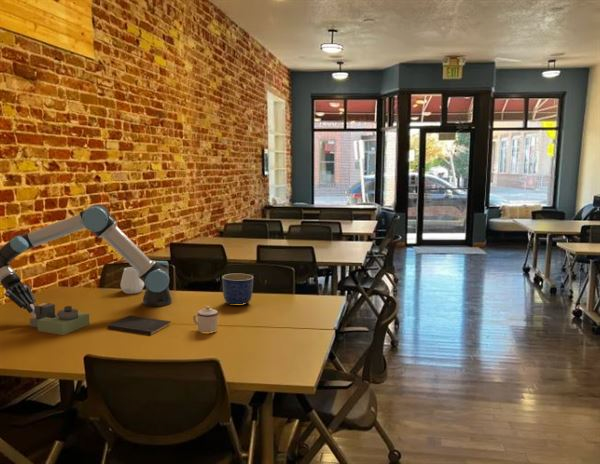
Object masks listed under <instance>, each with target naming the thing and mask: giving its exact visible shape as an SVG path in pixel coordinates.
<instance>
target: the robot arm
mask: <svg viewBox="0 0 600 464" xmlns="http://www.w3.org/2000/svg"><path fill="white" fill-rule="evenodd" d="M117 224H118V223H117V220H116V219H115V218H114V217H113V216H112V215H111V212H110V210H109V208H107V207H106V206H104V205H102V204H93V205H91V206H89V207H88V208H86V209H83V210H82V211H80V212H78V214H76V215H74V216H71V217H69V218H66V219H63V220H60V221H58V222H55V223H51V224H49V225H47V226H44V227H42V228H39V229H36V230H33V231H30V232H27V233H25V234H21V235H16V236H15V237H13V238H11V239H10V240H9V241H7V242H6V243H5V244H4V245H3V246H2V247H0V284H1V285H2V287H3V288H4V289H5V290H6V291H5V292H4V294H3V295H4V296H5V297H7V298H9V299H10V300H11V301H12V302H13V303H14V304H15V305H17V306H18V308H20V309H23V310H26V311H27V312H28V314H30V315H32V318H34V319H36V314H34V306H36V305H35V303H36V301H37V300H36V298H35V296H34V294H33V291H32V290H31V285H30V284H27V285H26V284H24V283H23V282H22V281H21V278H20V276H19V275H18V274H17V273H16V271H15V270H14V269H13V267H12V266H11V265H10V262H12V261H13V260H14V259H16V258H17V257H19V255H21V254H22V253H24V252H25V251H28V250H31V249H33V248H35V247H38V246H41V245H44V244H47V243H49V242H52V241H55V240H57V239H60V238H63V237H65V236H68V235H71V234H74V233H76V232H78V231H81V230H84V229H85V230H87V231H90V232H92V233H93V234H94V235H95V236H96V237H97V238H102V239H104V240H105V241H106V243H108V245H110V246H111V247H112V249H114V250H115V251H116V252H117V253H118V254H119V255H120V256H121V257H122V258H123V259H124V260H125V261H126V262H127V263H128V264H129V266H130V267H133V268H134V269H135V270H136V271H137V272H138V277H139V278H140V279H141V280H142V281H143V282H144V286H145V292H144V295H143V298H142V304H143V305H144V306H147V307H165V306H168V305H170V304H171V303H172V302H173V297H172V295H171V292H170V289H169V284H170V276H169V262H168V261H167V260H153V259H150V257H148V256H147V255H146V254H145V253H144V251H142V250H141V248H139V246H137V245H136V244H135V243H134V242H133V241H132V240H131V239H130V238H129V237H128V236H127V235H126V234H125V232H124V231H123V230H121V229H120V228H119V226H118V225H117ZM164 305H165V306H164Z"/></svg>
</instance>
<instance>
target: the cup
mask: <svg viewBox="0 0 600 464" xmlns="http://www.w3.org/2000/svg"><path fill="white" fill-rule="evenodd" d="M119 286H120V288H121V290H122V292H123V293H124V294H127V295H135V294H139V293H141V292H142V291H143V289H144V287H145V283H144V282H143V281H142V280H141V279H140V278H139V277H138V272H137V271H136V270H135V269H134V268H133V267H132V266H129V267H125V268H123V272H122V277H121V280H120V284H119Z"/></svg>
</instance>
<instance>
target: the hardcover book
mask: <svg viewBox="0 0 600 464" xmlns="http://www.w3.org/2000/svg"><path fill="white" fill-rule="evenodd" d="M171 322H172V321H170V320H163V319H157V318H151V317H144V316H138V315H137V316H136V315H130V314H129V315H128V316H126V317H123V318H121V319H118V320H117V321H114V322H112V323H110V324H108V325H107V330H113V331H118V332H119V331H120V332H127V333H131V332H132V334H138V333H139V335H144V334H148V335H147V336H150V335H151V334H152V335H154V334H156V333H157V332H156V331H158V330H160V329H161V328H163V327H165V326H166V325H168V324H170V325H171ZM165 328H166V327H165ZM160 331H161V330H160ZM155 332H156V333H155ZM158 332H159V331H158ZM153 333H154V334H153ZM152 335H151V336H152Z"/></svg>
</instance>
